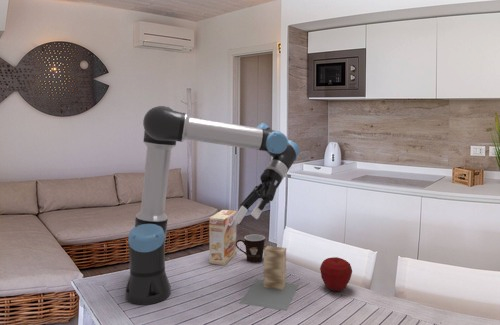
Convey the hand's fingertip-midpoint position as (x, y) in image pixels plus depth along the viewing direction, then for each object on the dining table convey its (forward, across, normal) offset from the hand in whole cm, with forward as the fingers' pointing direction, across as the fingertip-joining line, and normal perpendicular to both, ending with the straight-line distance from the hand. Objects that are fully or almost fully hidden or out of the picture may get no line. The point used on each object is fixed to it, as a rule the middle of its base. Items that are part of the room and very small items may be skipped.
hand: (244, 219), depth 142 cm
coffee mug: (-1, +31, -23) cm, 39 cm away
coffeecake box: (+4, +38, -14) cm, 41 cm away
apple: (0, -6, -41) cm, 41 cm away
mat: (+14, +2, -23) cm, 27 cm away
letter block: (+10, +6, -25) cm, 28 cm away
